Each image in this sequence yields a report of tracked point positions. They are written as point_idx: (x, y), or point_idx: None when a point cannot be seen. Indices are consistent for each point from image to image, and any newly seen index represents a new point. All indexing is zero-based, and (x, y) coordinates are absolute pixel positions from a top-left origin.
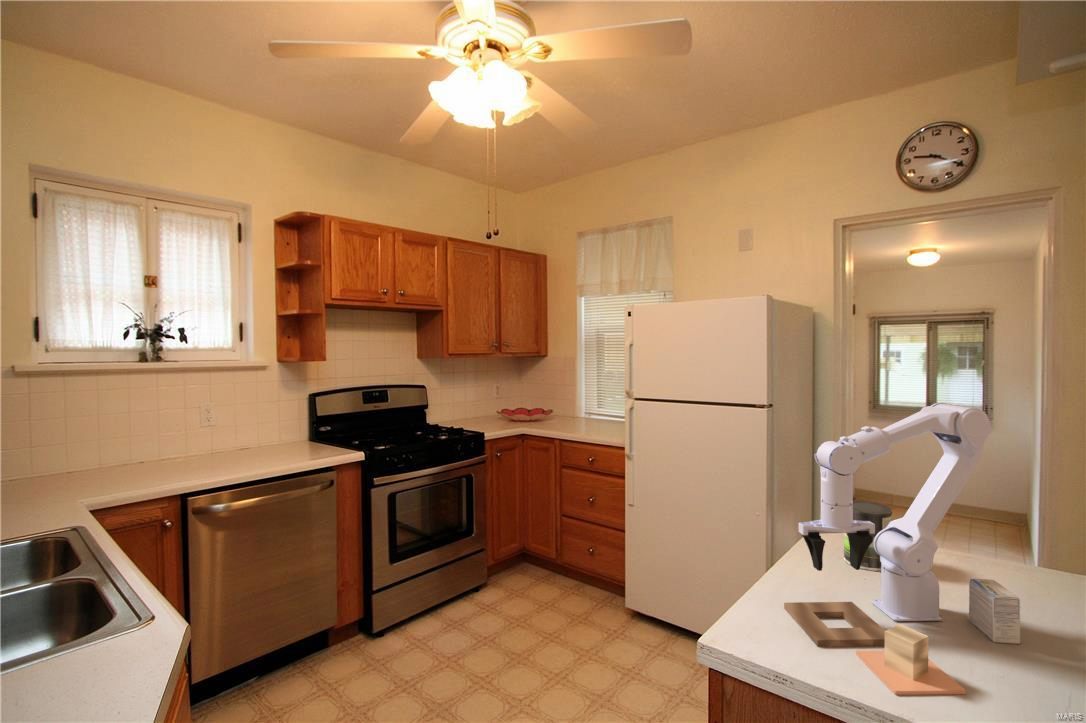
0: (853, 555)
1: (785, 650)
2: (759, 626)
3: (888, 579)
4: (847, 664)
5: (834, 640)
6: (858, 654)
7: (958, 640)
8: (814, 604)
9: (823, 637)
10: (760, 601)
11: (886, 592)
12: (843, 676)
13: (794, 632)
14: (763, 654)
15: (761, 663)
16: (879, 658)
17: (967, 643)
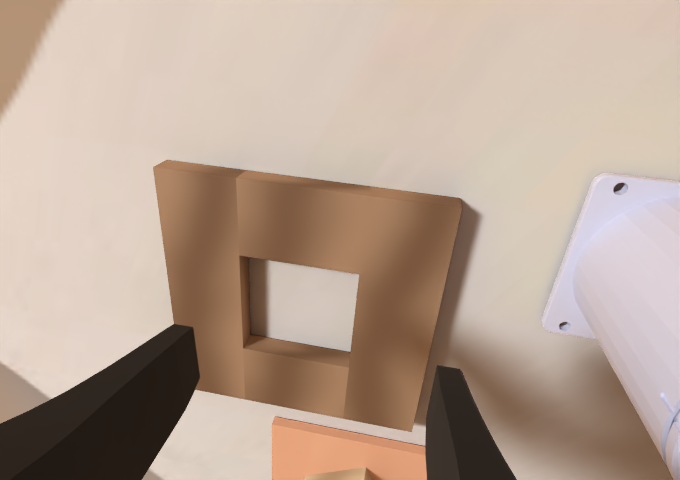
0: (439, 468)
1: (105, 367)
2: (56, 257)
3: (637, 394)
4: (232, 436)
5: (230, 395)
6: (272, 432)
7: (645, 439)
8: (274, 204)
9: (205, 381)
10: (85, 84)
11: (603, 327)
12: (202, 459)
13: (153, 305)
14: (49, 367)
15: (41, 391)
16: (312, 457)
17: (654, 455)
